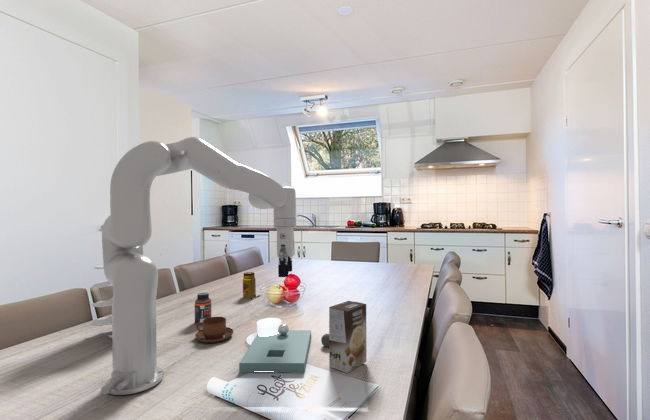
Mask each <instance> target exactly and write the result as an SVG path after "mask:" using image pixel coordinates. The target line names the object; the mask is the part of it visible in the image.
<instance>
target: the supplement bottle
mask: <svg viewBox="0 0 650 420" xmlns="http://www.w3.org/2000/svg"><path fill="white" fill-rule="evenodd" d="M209 294H210V293H209V292H199V293H197V296H196V297H197V298H196V299H195V300H194V324H195V325H196V326H197V324H198V323H200V322H203V320H205V319H207V318H210V317H212V316H213V315H212V299H211V298H210V296H209ZM199 326H202V325H201V324H200V325H199Z"/></svg>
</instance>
